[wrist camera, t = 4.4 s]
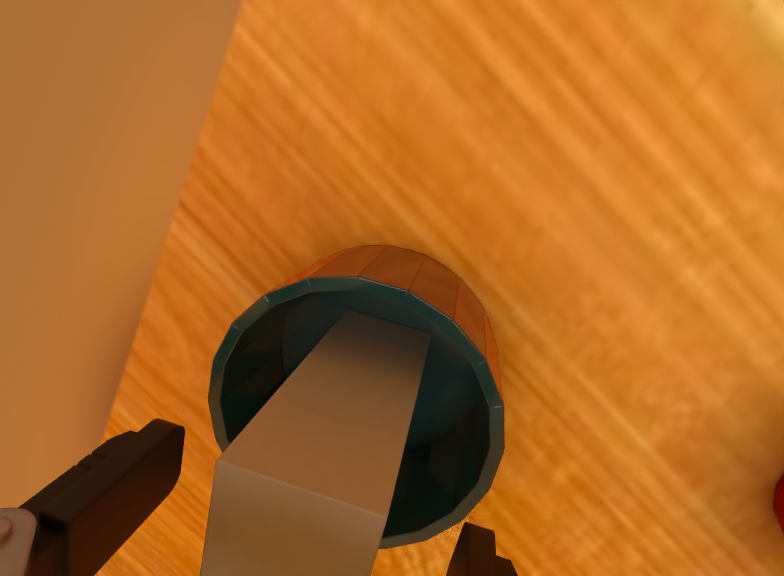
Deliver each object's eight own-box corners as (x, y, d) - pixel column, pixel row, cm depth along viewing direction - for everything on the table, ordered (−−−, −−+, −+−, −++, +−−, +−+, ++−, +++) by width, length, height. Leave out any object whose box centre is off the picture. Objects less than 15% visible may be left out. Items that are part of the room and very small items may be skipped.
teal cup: (262, 415, 23) (194, 495, 18) (296, 218, 20) (228, 239, 15) (458, 478, 22) (454, 585, 17) (527, 281, 19) (550, 330, 14)
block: (330, 384, 22) (196, 590, 11) (347, 308, 20) (215, 459, 10) (410, 409, 21) (349, 647, 11) (432, 333, 20) (387, 518, 10)
